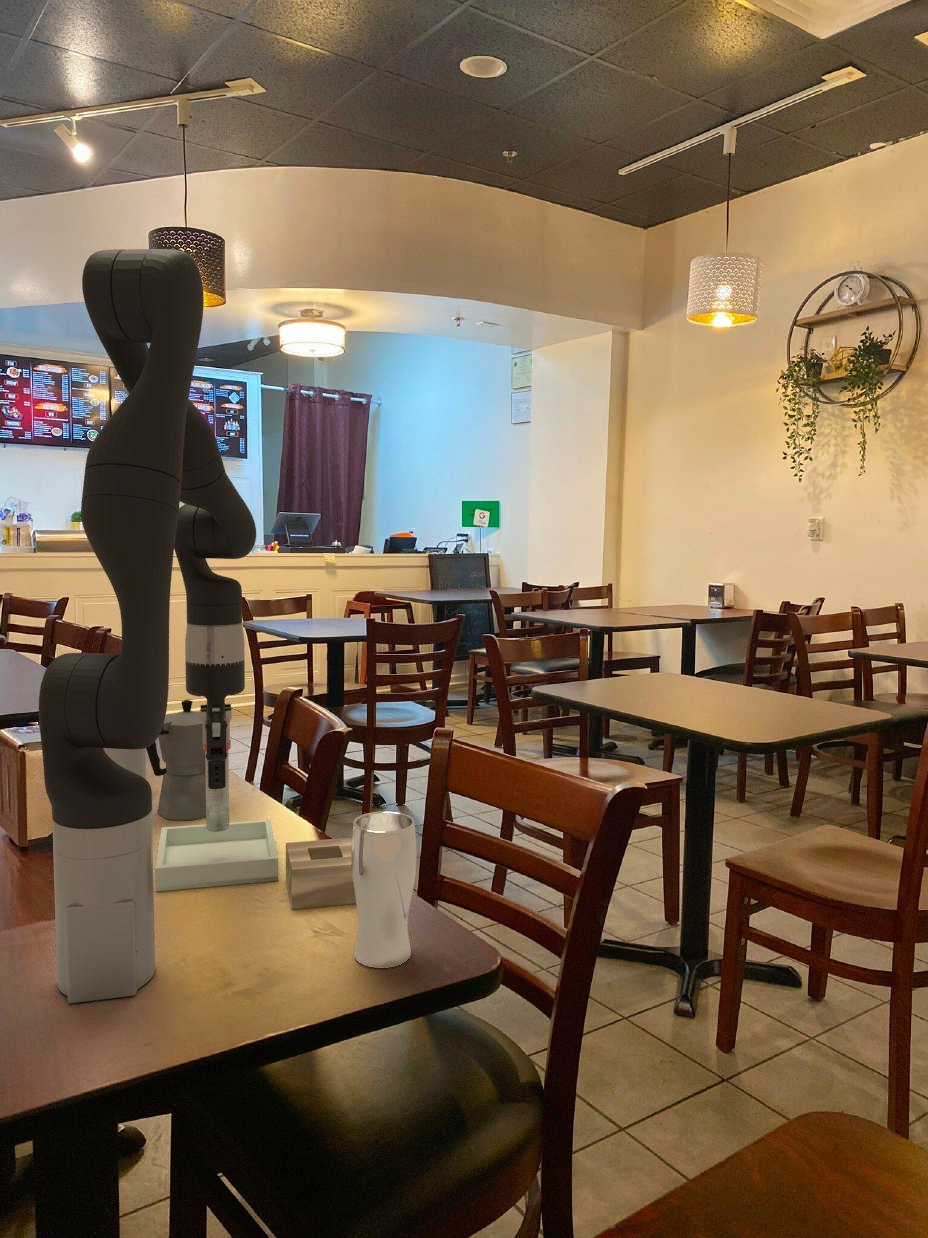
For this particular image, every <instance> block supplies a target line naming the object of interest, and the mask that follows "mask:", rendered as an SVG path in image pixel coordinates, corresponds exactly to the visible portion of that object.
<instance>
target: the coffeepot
mask: <svg viewBox="0 0 928 1238" xmlns="http://www.w3.org/2000/svg"><path fill="white" fill-rule="evenodd" d="M192 706H193V700H190V699H185V700H182V701H181V707H182V711H178V712H174V713H169V714H166V716H165V720H164V724H163V727H162V730H161V732H160V734H159V736H158V738H157V739H158V744H159V749H160V753H161V754H160V755H161V757H160V756H159V754H158V749H157V743H156V741H155V742H154V743H153V744H152V745H151V746H149V747H147V748H145V751H146V753H147V756H148V759H149V762H150V763H149V764H150V766H151V768H152V772H153V775H154V776H155V777H161V776H162V781H161V782H162V783H161V789H160V793H159V794H160V795H159V801H158V806H157V814H158V815H159V816H160V817H161V818H163V819H166V820H168V821H178V822H181V821H182V822H183V821H185V822H187V821H195V820H196V821H197V820H201V819H206V778H205V751H204V750H203V723H202V722H201V719H200V711H193V710H192ZM161 759H162V761H163V762H164V763H165V767H164V768H161Z"/></svg>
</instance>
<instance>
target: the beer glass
mask: <svg viewBox="0 0 928 1238" xmlns="http://www.w3.org/2000/svg"><path fill="white" fill-rule="evenodd" d="M415 822H416V821H415V818H413V817H412V816H411V815H408V814H407V813H401V812H398V811H397V812H396V811H386V810H385V811H372V812H368V813H367V812H366V813H364V814H360V815H359V816H357V817H356V818H354V819H353V823H352V824H353V826H352V827H353V828H352V837H351V838H352V847H351V874H352V882H353V889H354V895H355V901H356V903H355V904H356V912H357V920H358V925H357V927H358V929H357V937H356V942H355V947H354V959H355V961H356V962H357V961H358V962H357V963H359V964H360V963H361V964H363V965H366V966H372V967H376V968H379V967H384V968H385V967H391V966H397V965H400V966H402V965H403V964H402V963H404V962H405V963H407V962H408V961H409V960H410V958H411V954H412V949H411V944H410V937H409V930H408V929H409V928H408V922H409V912H410V907H411V902H412V897H413V892H414V887H415V882H416V881H415V880H416V874H417V873H416V872H417V837H416V823H415ZM408 959H409V960H408ZM407 960H408V961H407ZM406 961H407V962H406ZM405 963H404V964H405ZM361 964H360V965H361ZM401 964H402V965H401ZM363 965H362V966H363ZM366 966H365V967H366ZM397 967H398V966H397Z"/></svg>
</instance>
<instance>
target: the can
mask: <svg viewBox="0 0 928 1238" xmlns="http://www.w3.org/2000/svg"><path fill="white" fill-rule="evenodd" d="M103 749H104V751H105V753H106V754H107V755H108V756H109V757H110V758H111V759H112V760H113V761H114V762H116V763H117V764H118V765H120V766H122V767H123V768H125V769H127V770H129V771H131V772H133V773H136V774H138V775H140V776H142V777H143V778H145V779H146V780H147V768H146V767H147V766H146V765H147V764H146V762H147V761H146V760H147V759H146V748H144V749H111V748H103Z"/></svg>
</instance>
